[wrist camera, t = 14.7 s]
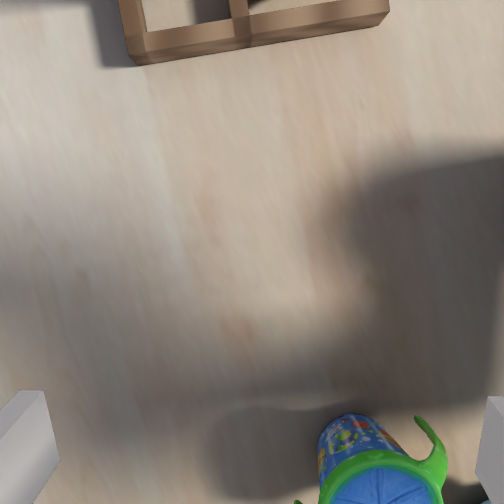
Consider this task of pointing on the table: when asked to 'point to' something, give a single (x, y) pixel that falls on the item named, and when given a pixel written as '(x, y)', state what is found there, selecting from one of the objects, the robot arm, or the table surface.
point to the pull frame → (244, 28)
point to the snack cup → (376, 465)
